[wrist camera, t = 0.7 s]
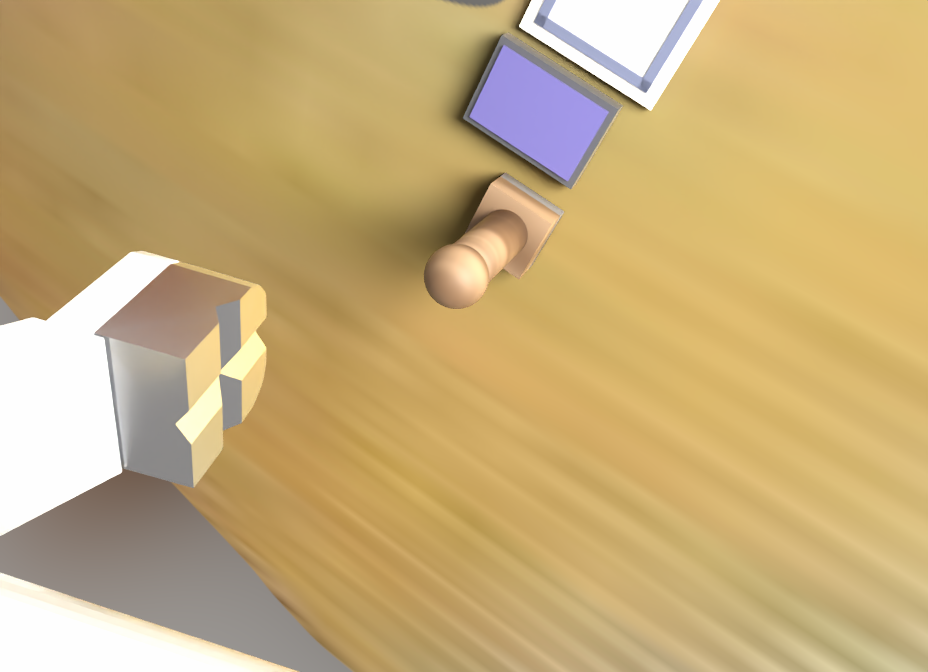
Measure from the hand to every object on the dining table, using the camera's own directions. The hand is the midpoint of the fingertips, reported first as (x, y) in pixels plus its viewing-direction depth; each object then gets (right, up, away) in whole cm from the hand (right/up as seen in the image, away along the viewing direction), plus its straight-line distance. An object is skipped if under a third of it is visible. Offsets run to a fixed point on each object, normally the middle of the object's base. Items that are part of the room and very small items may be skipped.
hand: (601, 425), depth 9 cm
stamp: (+2, +9, +44) cm, 45 cm away
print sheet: (+7, +20, +36) cm, 41 cm away
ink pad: (+3, +15, +40) cm, 43 cm away
